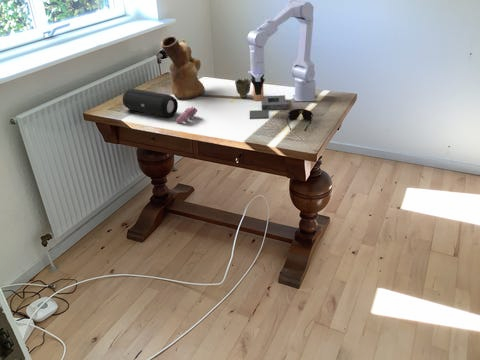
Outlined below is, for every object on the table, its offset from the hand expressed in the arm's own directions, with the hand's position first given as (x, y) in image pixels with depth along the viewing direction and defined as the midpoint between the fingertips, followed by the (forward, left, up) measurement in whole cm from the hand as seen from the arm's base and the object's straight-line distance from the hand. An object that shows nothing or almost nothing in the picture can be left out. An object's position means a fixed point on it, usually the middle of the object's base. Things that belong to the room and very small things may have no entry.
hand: (258, 92), depth 189 cm
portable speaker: (+49, -7, -11) cm, 51 cm away
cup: (+7, -23, -11) cm, 26 cm away
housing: (-7, -11, -10) cm, 16 cm away
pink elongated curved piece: (+31, +3, -11) cm, 33 cm away
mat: (0, 0, -10) cm, 10 cm away
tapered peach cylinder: (0, 0, -3) cm, 3 cm away
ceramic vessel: (+36, -27, -11) cm, 46 cm away
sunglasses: (-17, +12, -11) cm, 23 cm away
